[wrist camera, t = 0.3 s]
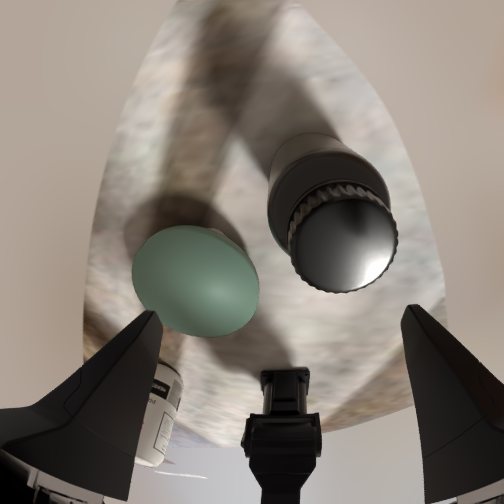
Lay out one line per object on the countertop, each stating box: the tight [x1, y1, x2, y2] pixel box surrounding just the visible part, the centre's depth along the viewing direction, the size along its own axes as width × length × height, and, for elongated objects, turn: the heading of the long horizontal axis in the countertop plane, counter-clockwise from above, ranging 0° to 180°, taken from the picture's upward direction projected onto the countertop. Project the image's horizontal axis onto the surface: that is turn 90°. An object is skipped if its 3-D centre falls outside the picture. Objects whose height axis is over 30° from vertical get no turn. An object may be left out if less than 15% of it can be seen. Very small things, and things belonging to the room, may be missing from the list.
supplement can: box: [134, 363, 184, 469], centre depth 31 cm, size 8×8×15 cm
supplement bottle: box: [267, 133, 398, 294], centre depth 16 cm, size 7×7×12 cm
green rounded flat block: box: [132, 225, 259, 337], centre depth 25 cm, size 12×12×3 cm
